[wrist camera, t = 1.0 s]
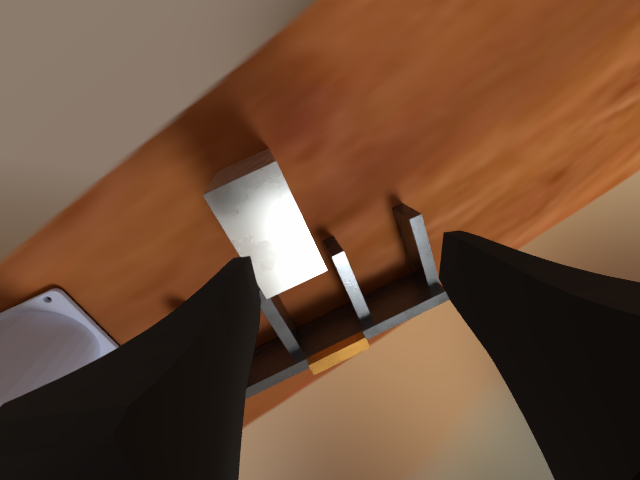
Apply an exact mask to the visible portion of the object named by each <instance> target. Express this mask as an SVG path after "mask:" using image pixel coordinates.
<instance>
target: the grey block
mask: <svg viewBox="0 0 640 480" xmlns="http://www.w3.org/2000/svg"><path fill="white" fill-rule="evenodd" d="M203 197H204V198H205V200H206V202H207V203H208V205H209V206H210V208H211V210H212V211H213V213H214V215H215V216H216V218H217V219H218V221H219V223H220V224H221V226H222V228H223V229H224V231H225V232H226V234H227V236H228V237H229V239H230V240H231V242H232V244H233V245H234V247H235V249H236V250H237V252H238V253H239V255H240V257H246V256H251V261H252V265H253V269H254V273H255V277H256V281H257V284H258V286H259V287H260V289H261V291H262V292H263V294H264V295H265V297H266V299H269V298H271V297H273V296H275V295H277V294H279V293H281V292H283V291H285V290H287V289H290V288H292V287H294V286H296V285H298V284H300V283H302V282H304V281H306V280H308V279H310V278H312V277H315V276H317V275H319V274H321V273H323V272H325V271H327V268H326V266H325V264H324V262H323V260H322V258H321V256H320V254H319V251H318V249H317V247H316V245H315V243H314V241H313V239H312V236H311V234H310V232H309V230H308V228H307V226H306V224H305V222H304V219H303V217H302V215H301V213H300V211H299V209H298V207H297V205H296V202H295V200H294V198H293V196H292V194H291V192H290V190H289V187H288V185H287V183H286V181H285V179H284V177H283V175H282V173H281V170H280V168H279V166H278V164H277V162H276V160H275V158H274V156H273V155H272V153H271V151H270V149H269V148H268V149H266V150H263V151H261V152H259V153H257V154H255V155H253V156H250V157H248V158H246V159H244V160H242V161H240V162H237V163H235V164H233V165H231V166H229V167H227V168H224V169H222V170H220V171H218V172H217V173H216V175H215V176H214V178H213V180H212V181H211V183H210V184H209V186H208V187H207V189H206V191H205V192H204V194H203Z"/></svg>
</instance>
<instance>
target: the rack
mask: <svg viewBox="0 0 640 480" xmlns="http://www.w3.org/2000/svg"><path fill="white" fill-rule="evenodd" d="M392 209H393V212H394V215H395V218H396V222H397V225H398V228H399V231H400V235H401V238H402V241H403V244H404V247H405V251H406V254H407V257H408V260H409V264H410V267H411V270H412V273H411V274H408V275H406V276H404V277H402V278H400V279H398V280H396V281H394V282H392V283H390V284H388V285H386V286H384V287H382V288H379V289H377V290H375V291H373V292H371V293H369V294H367V295H365V296H362V293H361V291H360V289H359V286H358V284H357V281H356V279H355V277H354V274H353V272H352V270H351V267H350V265H349V263H348V260H347V258H346V255H345V253H344V251H343V249H342V248H341V246H340V245H339V244H338V242H337V241H336V239H335V238H334V236H333V237H331V238H329V239H327V240H325V241H323V243H324V245H325V247H326V250H327V252H328V254H329V256H330V258H331V261H332V263H333V265H334V267H335V270H336V272H337V274H338V276H339V278H340V281H341V283H342V285H343V287H344V289H345V292H346V294H347V296H348V298H349V300H350V303H348V304H346V305H344V306H342V307H340V308H338V309H336V310H334V311H332V312H330V313H328V314H326V315H324V316H321V317H319V318H317V319H315V320H313V321H311V322H309V323H307V324H305V325H303V326H301V327H299V328H297V327H296V325H295V323H294V321H293V320H292V318H291V316H290V315H289V313H288V311H287V310H286V308H285V306H284V305H283V303H282V301H281V299H280V298H279V296H278V294H277V295H275V296H273V297H271V298H269V299H266V297H265V295H264V294H263V292H262V291H261V289H260V287H259V286H258V289H259V294H260V298H261V310H262V311H263V313H264V314H265V316H266V317H267V319H268V320H269V322H270V324H271V325H272V327H273V328H274V330H275V331H276V333H277V334H278V336H279V337H278V338H276V339H274V340H272V341H270V342H268V343H266V344H263V345H261V346H259V347H257V348H255V349H254V353H253V358H252V363H251V368H250V373H249V377H248V383H247V389H246V397H245V399H246V398H249V397H251V396H253V395H255V394H257V393H259V392H261V391H263V390H265V389H267V388H269V387H271V386H273V385H275V384H277V383H279V382H281V381H283V380H285V379H287V378H290V377H292V376H294V375H296V374H298V373H300V372H302V371H304V370H306V369H308V368H310V369H311V371H312V372H313V374H314V375H315V374H317V373H319V372H321V371H324V370H326V369H328V368H330V367H332V366H334V365H336V364H338V363H340V362H342V361H344V360H346V359H348V358H350V357H352V356H354V355H356V354H358V353H360V352H362V351H364V350H366V349H369V348H370V346H369V344H368V342H367V339H370V338H372V337H374V336H376V335H378V334H380V333H382V332H384V331H386V330H388V329H390V328H392V327H394V326H396V325H398V324H400V323H402V322H404V321H406V320H408V319H411V318H413V317H415V316H417V315H419V314H421V313H423V312H424V311H427V310H429V309H431V308H433V307H435V306H437V305H439V304H441V303H443V302H445V301H447V300H449V297H448V295H447V293H446V292H445V290H444V288H443V287H442V286H441V285H440V282H439V278H438V275H437V271H436V267H435V263H434V259H433V256H432V252H431V248H430V244H429V240H428V236H427V233H426V229H425V225H424V221H423V217H422V214H421V213H419V212H417V211H415V210H414V209H412V208H410V207H408V206H407V205H405V204H401V205H399V206H397V207H394V208H392ZM257 285H258V284H257Z"/></svg>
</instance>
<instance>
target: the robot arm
mask: <svg viewBox="0 0 640 480" xmlns="http://www.w3.org/2000/svg"><path fill="white" fill-rule="evenodd" d="M439 279H440V281H441V284H442V286H443V288H444V290H445V292H446V293H447V295H448V297H449V299H450V301H451V302H452V304H453V305H454V306H455V308H456V309H457V311H458V312H459V313H460V315H461V316H462V318H463V319H464V320H465V322H466V323H467V325H468V326H469V327H470V329H471V330H472V331H473V333H474V334H475V336H476V337H477V338H478V340H479V341H480V342H481V344H482V345H483V347H484V348H485V349H486V351H487V352H488V354H489V355H490V357H491V359H492V360H493V362H494V363H495V365H496V367H497V368H498V370H499V372H500V374H501V375H502V377H503V379H504V381H505V382H506V384H507V386H508V388H509V389H510V391H511V393H512V395H513V397H514V399H515V400H516V403H517V404H518V406H519V408H520V410H521V412H522V413H523V415H524V417H525V419H526V421H527V423H528V425H529V427H530V429H531V431H532V433H533V435H534V437H535V439H536V441H537V443H538V445H539V447H540V449H541V451H542V453H543V455H544V457H545V460H546V462H547V464H548V466H549V468H550V470H551V473H552V475H553V477H554V479H555V480H640V282H635V281H630V280H625V279H620V278H615V277H610V276H605V275H601V274H596V273H592V272H589V271H585V270H581V269H577V268H573V267H569V266H565V265H562V264H558V263H555V262H552V261H549V260H545V259H542V258H539V257H536V256H533V255H530V254H527V253H524V252H521V251H518V250H516V249H513V248H510V247H507V246H505V245H502V244H499V243H496V242H494V241H491V240H488V239H486V238H483V237H480V236H477V235H474V234H471V233H468V232H464V231H452V232H444V235H443V244H442V253H441V263H440V272H439ZM47 297H50V298H51V299H52V300H49V299H48V298H47ZM260 310H261V298H260V294H259V289H258V285H257V281H256V277H255V273H254V269H253V265H252V261H251V256H246V257H237V258H233V259H232V260H231V261H229V262H228V263H227V264H226V265H225V266H224V267H223V268H222V269H221V270H220V271H219V272H218V273H217V274H216V275H215V276H214V277H212V278H211V279H210V280H209V281H208V282H207V283H206V284H205V285H204V286H203V287H202V288H201V289H199V290H198V291H197V292H196V293H195V294H194V295H192V296H191V297H190V298H189V299H188V300H186V301H185V302H184V303H183V304H182V305H181V306H179V307H178V308H177V309H175V310H174V311H173V312H171V313H170V314H169V315H168V316H166V317H165V318H163V319H162V320H160V321H159V322H158V323H156V324H155V325H153V326H152V327H150V328H149V329H147V330H146V331H144V332H142V333H141V334H139V335H138V336H136V337H134V338H133V339H131V340H129V341H128V342H126V343H125V344H123V345H121V346H120V347H119V346H118V345H117V344H116V343H115V342H114V341H113V340H112V339H111V338H110V337H109V336H108V335H107V334H106V333H105V332H104V331H103V330H102V329H101V328H100V327H99V326H98V325H97V324H96V323H95V322H94V321H93V320H92V319H91V318H90V317H89V316H88V315H87V314H86V313H85V312H84V311H83V310H82V309H81V308H80V307H79V306H78V305H77V304H76V303H75V302H74V301H73V300H72V299H71V298H70V297H69V296H68V295H67V294H66V293H64V292H63V291H62V290H61V289H58V288H54V289H51V290H48V291H46V292H44V293H42V294H40V295H38V296H35V297H33V298H31V299H29V300H27V301H25V302H23V303H20V304H18V305H16V306H14V307H12V308H10V309H8V310H5V311H3V312H1V313H0V480H238V477H239V476H238V475H239V462H240V450H241V437H242V426H243V416H244V406H245V397H246V389H247V383H248V377H249V373H250V368H251V363H252V358H253V353H254V349H255V344H256V339H257V334H258V329H259V324H260Z"/></svg>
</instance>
